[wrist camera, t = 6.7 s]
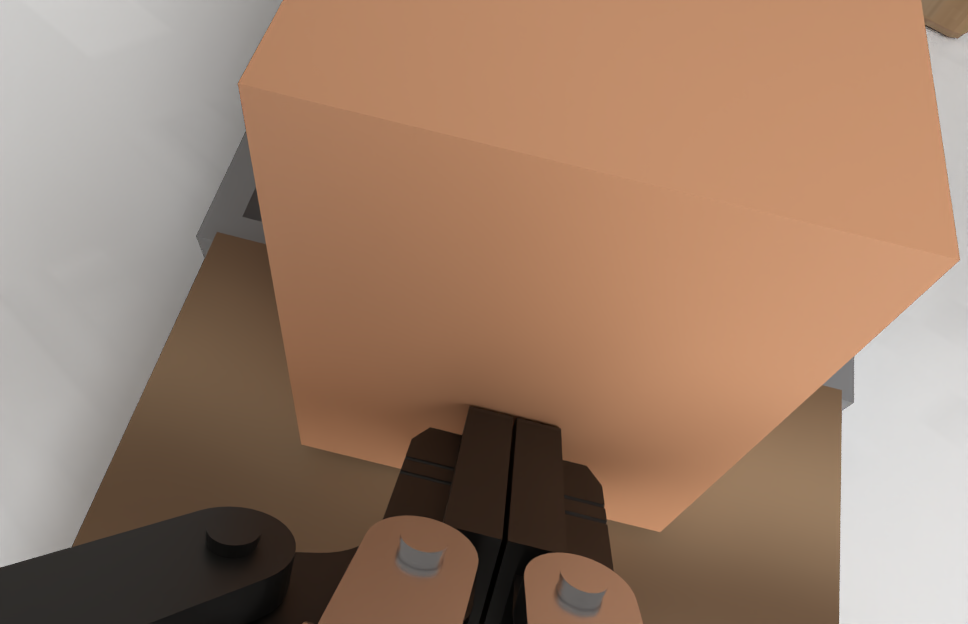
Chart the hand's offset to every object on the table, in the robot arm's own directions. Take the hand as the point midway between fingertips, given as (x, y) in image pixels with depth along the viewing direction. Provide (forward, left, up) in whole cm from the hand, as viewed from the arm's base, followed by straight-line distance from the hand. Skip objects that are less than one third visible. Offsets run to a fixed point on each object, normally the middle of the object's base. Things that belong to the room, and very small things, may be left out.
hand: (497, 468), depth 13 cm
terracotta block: (-1, -4, -3) cm, 5 cm away
